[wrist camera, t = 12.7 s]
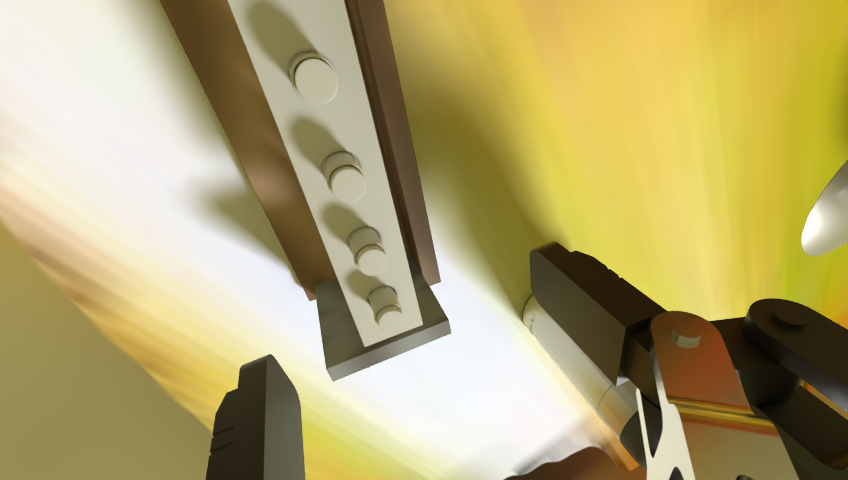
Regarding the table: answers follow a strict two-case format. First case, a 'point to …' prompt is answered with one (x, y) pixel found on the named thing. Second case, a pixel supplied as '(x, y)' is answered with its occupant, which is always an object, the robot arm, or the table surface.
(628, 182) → the table surface
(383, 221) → the long lego plate
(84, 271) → the table surface
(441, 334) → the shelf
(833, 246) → the desk lamp
